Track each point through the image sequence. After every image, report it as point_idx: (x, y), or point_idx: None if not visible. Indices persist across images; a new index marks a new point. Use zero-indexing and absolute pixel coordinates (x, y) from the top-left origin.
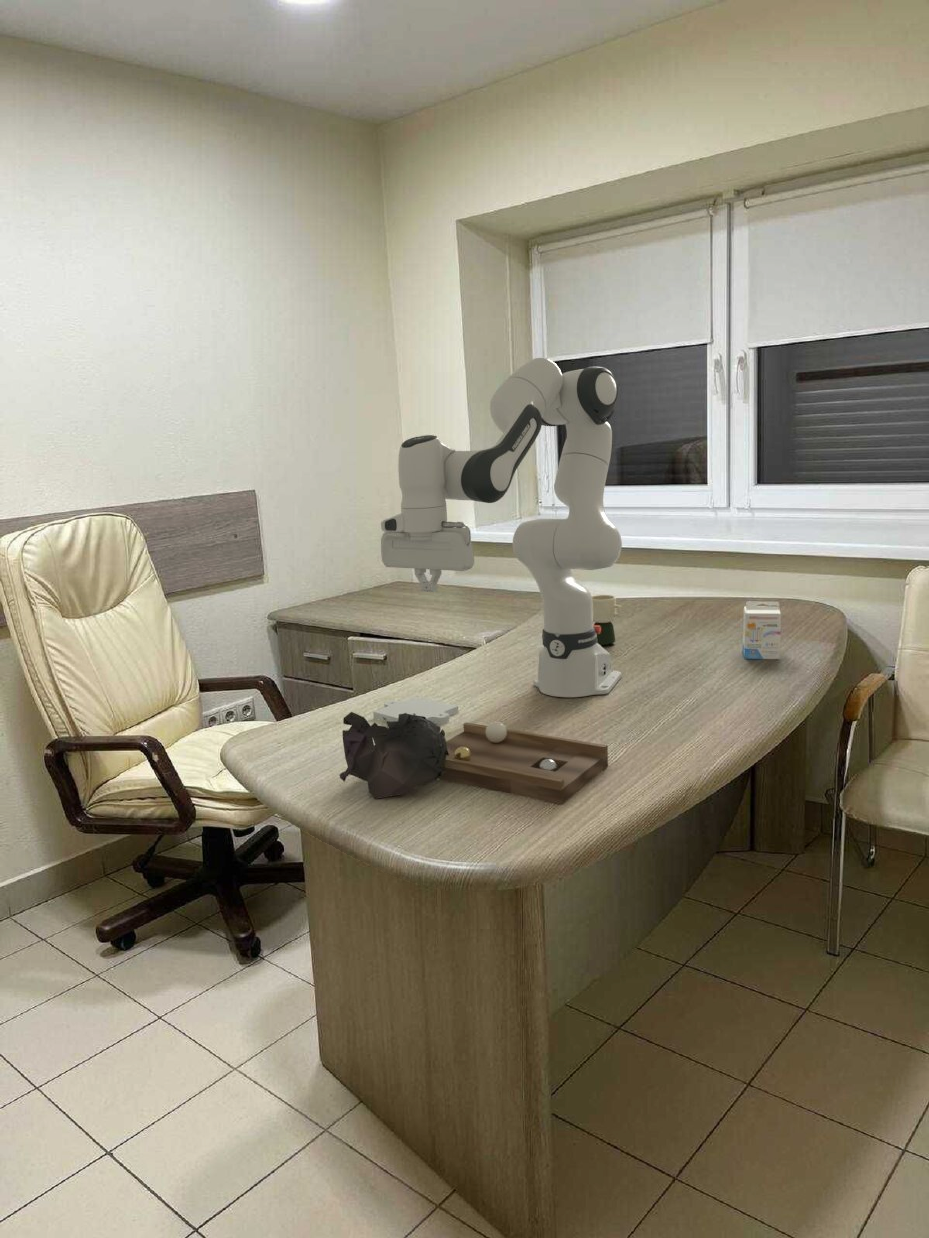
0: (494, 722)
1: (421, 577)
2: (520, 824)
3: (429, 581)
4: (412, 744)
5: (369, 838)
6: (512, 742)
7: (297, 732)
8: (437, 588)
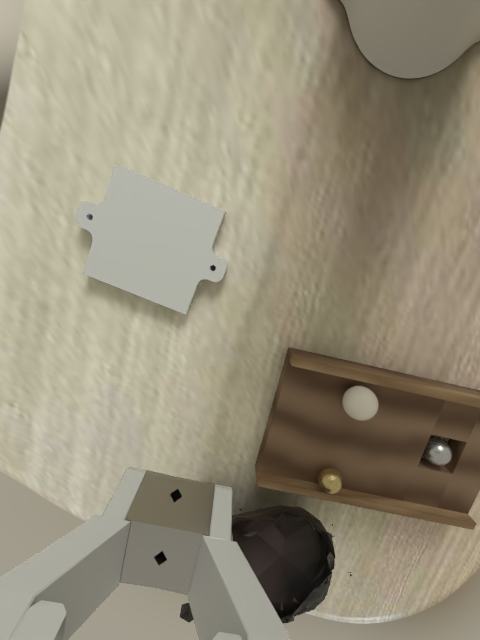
0: (365, 413)
1: (75, 613)
2: (414, 550)
3: (152, 530)
4: (302, 601)
5: None
6: (377, 391)
7: (6, 359)
8: (232, 494)
